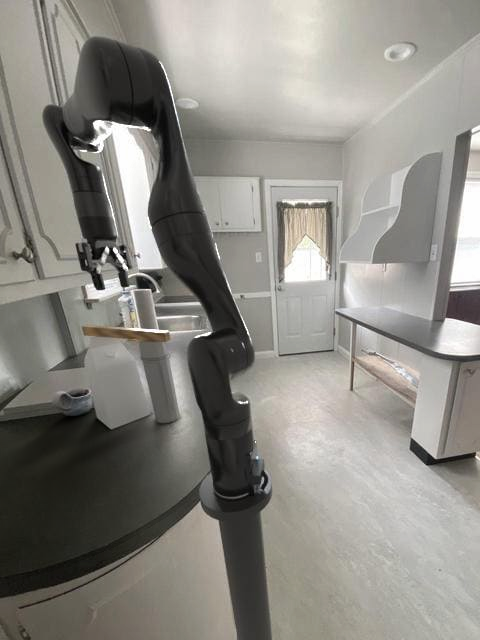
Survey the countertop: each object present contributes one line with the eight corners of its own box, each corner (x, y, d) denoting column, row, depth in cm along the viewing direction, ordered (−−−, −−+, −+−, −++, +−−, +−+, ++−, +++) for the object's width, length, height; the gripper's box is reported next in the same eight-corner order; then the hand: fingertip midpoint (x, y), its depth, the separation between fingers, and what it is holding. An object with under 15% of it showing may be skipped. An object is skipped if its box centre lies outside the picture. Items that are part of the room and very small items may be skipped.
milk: (135, 404, 104) (116, 329, 94) (150, 414, 97) (132, 334, 87) (97, 417, 96) (71, 337, 86) (111, 429, 89) (85, 343, 79)
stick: (170, 340, 84) (169, 330, 82) (166, 342, 82) (164, 332, 81) (89, 333, 88) (87, 324, 87) (83, 335, 86) (81, 326, 85)
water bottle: (150, 419, 94) (132, 340, 84) (175, 410, 99) (160, 335, 89) (162, 430, 88) (144, 346, 78) (188, 420, 92) (173, 340, 83)
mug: (101, 405, 104) (93, 378, 100) (84, 423, 93) (74, 393, 89) (70, 408, 103) (61, 381, 99) (50, 426, 92) (38, 396, 88)
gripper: (84, 211, 64) (105, 291, 70) (130, 219, 77) (144, 285, 83) (55, 214, 66) (78, 291, 72) (105, 221, 78) (121, 286, 85)
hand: (113, 288), depth 77 cm, fingers open, 8 cm apart
